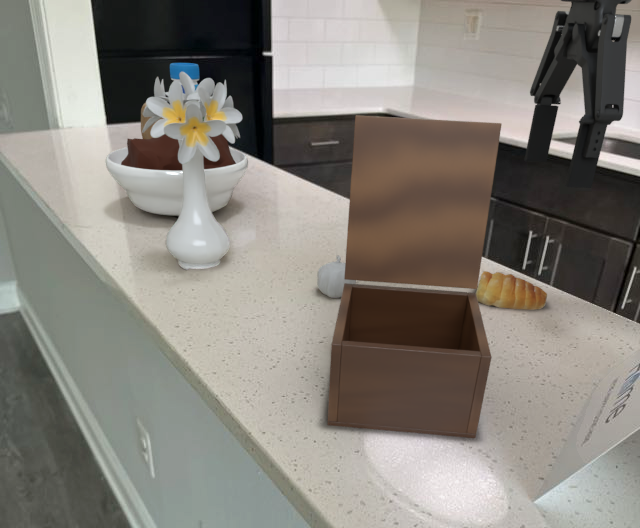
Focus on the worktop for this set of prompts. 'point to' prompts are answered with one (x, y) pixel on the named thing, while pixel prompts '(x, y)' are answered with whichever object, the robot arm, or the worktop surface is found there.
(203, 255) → the flower vase
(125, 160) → the white bowl
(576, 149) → the robot arm
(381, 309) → the bread box
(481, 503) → the worktop surface
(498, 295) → the pastry
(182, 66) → the beverage bottle
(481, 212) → the lid
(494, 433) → the worktop surface
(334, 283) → the garlic
